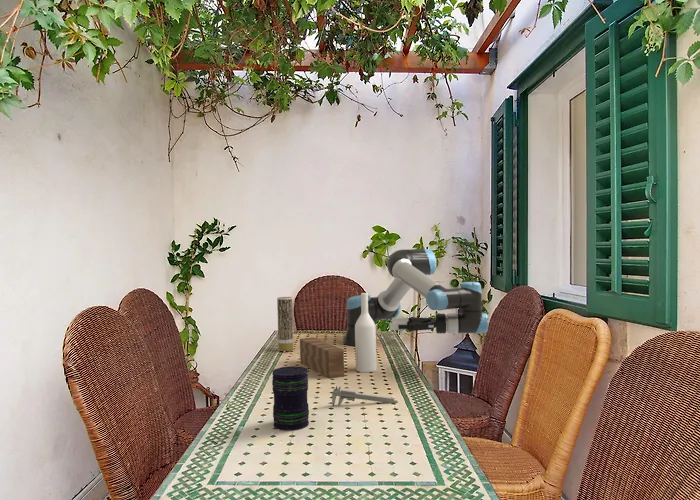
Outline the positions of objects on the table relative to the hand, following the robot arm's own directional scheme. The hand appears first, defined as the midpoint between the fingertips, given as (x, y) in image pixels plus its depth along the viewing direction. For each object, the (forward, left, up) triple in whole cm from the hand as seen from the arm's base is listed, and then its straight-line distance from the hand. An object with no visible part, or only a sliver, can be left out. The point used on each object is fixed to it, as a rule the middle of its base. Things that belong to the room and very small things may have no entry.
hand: (390, 323), depth 204 cm
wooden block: (+1, -28, -18) cm, 33 cm away
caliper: (+44, -5, -18) cm, 48 cm away
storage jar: (+64, -23, -18) cm, 70 cm away
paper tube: (-33, -52, -18) cm, 64 cm away
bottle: (+1, -10, -18) cm, 21 cm away
